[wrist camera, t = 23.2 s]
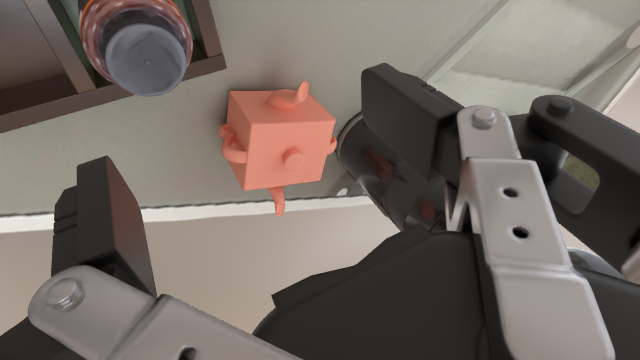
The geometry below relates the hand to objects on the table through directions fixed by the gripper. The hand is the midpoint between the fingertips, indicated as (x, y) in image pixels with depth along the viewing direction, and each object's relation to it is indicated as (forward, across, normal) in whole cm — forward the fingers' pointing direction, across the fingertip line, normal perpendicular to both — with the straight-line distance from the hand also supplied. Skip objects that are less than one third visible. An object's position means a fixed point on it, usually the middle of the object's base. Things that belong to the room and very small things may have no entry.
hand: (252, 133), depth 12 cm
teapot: (+24, -6, +15) cm, 29 cm away
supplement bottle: (+23, +2, +1) cm, 23 cm away
